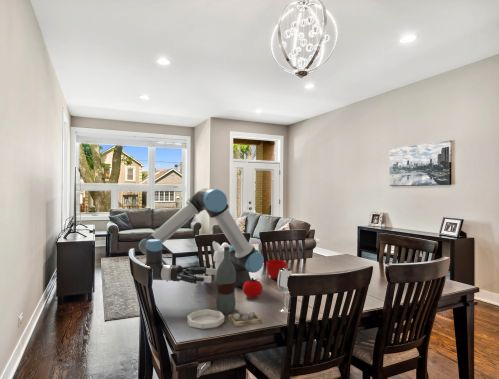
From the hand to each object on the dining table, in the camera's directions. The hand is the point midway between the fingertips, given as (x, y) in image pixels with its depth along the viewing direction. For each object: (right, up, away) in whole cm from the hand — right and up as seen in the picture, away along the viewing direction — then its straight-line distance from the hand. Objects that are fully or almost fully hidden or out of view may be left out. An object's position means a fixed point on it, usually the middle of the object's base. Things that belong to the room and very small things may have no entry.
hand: (215, 275), depth 159 cm
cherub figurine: (-3, -16, +65) cm, 67 cm away
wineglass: (+33, -17, 0) cm, 37 cm away
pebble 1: (+11, -16, -13) cm, 23 cm away
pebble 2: (+14, -16, -14) cm, 26 cm away
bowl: (-3, -17, -14) cm, 22 cm away
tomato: (+18, -17, +20) cm, 31 cm away
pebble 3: (+16, -16, -11) cm, 25 cm away
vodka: (+5, -17, 0) cm, 17 cm away
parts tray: (+14, -17, -13) cm, 25 cm away
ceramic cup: (+35, -16, +57) cm, 69 cm away
